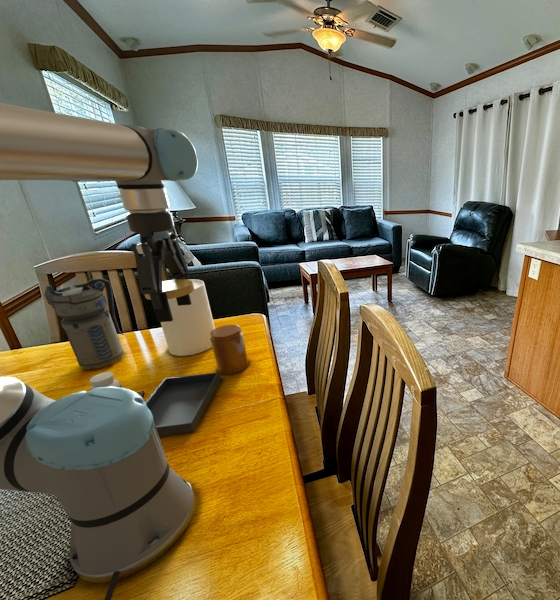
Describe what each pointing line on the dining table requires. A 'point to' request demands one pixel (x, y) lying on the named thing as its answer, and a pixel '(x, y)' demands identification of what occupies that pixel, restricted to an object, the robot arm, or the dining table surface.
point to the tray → (181, 402)
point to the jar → (229, 349)
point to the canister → (190, 323)
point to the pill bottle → (104, 381)
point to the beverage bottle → (88, 322)
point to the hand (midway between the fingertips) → (175, 312)
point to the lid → (175, 288)
